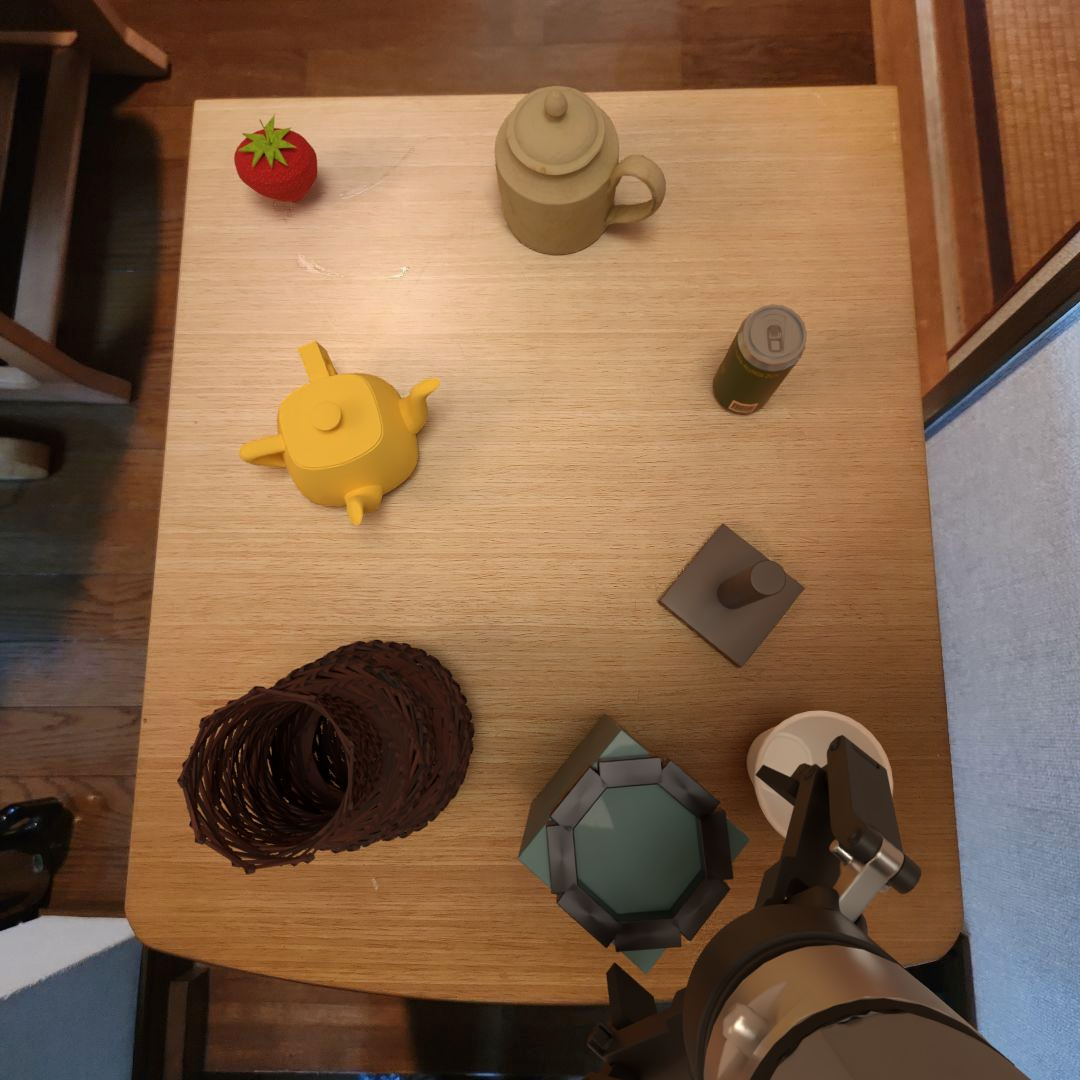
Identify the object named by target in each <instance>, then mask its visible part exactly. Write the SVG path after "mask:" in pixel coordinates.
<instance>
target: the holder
mask: <svg viewBox="0 0 1080 1080" xmlns="http://www.w3.org/2000/svg"><path fill="white" fill-rule="evenodd" d="M805 589H806V586H803V584H801V583H800V582H798V581H797V580H796V579H795V578H794V577H792V576H791V575H790V574H789V573H787V572H786V571H785V569H784V568H783V566H782V565H781V564H780V563H778V562H776V561H775V560H771V559H769V558H768V557H767V556H765V554H763V553H762V552H760V551H759V550H758V549H757V548H756V547H754V546H753V545H752V544H751V543H749V542H748V541H747V540H745V539H744V538H743V537H742V536H740V535H739V534H738V533H737V532H735V531H734V530H732V529H731V528H730V527H728V525H726V524H725V523H722V524H720V525H719V527H717V529H716V530H715V531H714V533H712V534H711V536H710V538H709V539H708V540H707V541H705V543H704V545H703V546H702V547H701V548H700V550H699V551H698V552H697V553H696V554H695V556H694V557H693V558H692V559H691V561H690V562H689V563H688V564H687V565H686V567H685V568H684V569H683V570H682V572H681V573H680V574H679V575H678V577H677V578H676V579H675V580H674V582H673V583H672V584H671V585H670V586H669V587H668V589H667V590H666V591H665V593H663V595H662V596H661V597H660V599H659V600H658V601H657V603H658V604H659V605H660V606H661V607H662V608H664V609H665V610H666V611H668V613H670V614H671V615H672V616H674V617H675V618H676V620H679V622H681V623H682V624H684V626H686V627H687V628H688V629H689V630H690V631H692V632H693V633H694V634H696V635H697V636H698V637H700V638H701V639H702V640H703V641H704V642H706V643H707V644H708V645H709V646H710V647H712V649H714V650H715V651H717V652H718V653H719V654H720V655H721V656H723V657H724V658H725V659H726V660H728V661H729V662H730V663H731V664H733V665H734V666H735V667H736V668H738V669H741V668H743V667H744V666H745V665H746V663H747V662H748V661H749V660H750V658H751V657H752V656H753V655H754V654H755V652H756V651H757V650H758V648H759V647H760V646H761V645H762V643H763V642H764V641H765V639H767V637H768V635H769V634H771V632H772V631H773V629H774V628H775V627H776V625H777V624H778V623H779V622H780V620H782V618H783V617H784V615H785V614H786V613H787V612H788V611H789V609H790V608H791V606H792V605H793V604H794V603H795V602H796V600H797V599H798V598H799V597H800V595H801V594H802V593H803V592H804V590H805Z"/></svg>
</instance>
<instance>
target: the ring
mask: <svg viewBox="0 0 1080 1080" xmlns="http://www.w3.org/2000/svg"><path fill="white" fill-rule="evenodd" d="M597 766H598V770H596V769H595V768H594V767H593V766H592V765H591V764H588V765H587V766H586V767H585V768H584V770H583V771H582V772H581V773H580V775H579V776H578V777H577V778H576V780H575V781H574V782H573V783H572V785H571V786H570V787H569V788H568V789H567V791H566V792H565V793H564V794H563V796H562V797H561V798H560V799H559V801H558V802H557V803H556V804H555V806H554V807H553V808H552V809H551V810H550V814H549V817H550V818H551V819H552V820H553V821H547V822H546V834H547V846H548V858H549V870H550V883H551V889H550V893H551V894H552V895H556V899H555V902H556V905H557V906H558V907H559V908H560V909H561V910H563V911H564V912H565V913H566V914H567V915H568V916H569V917H570V918H572V919H573V920H574V922H576V923H577V924H578V925H579V926H581V928H583V929H584V930H585V931H586V932H587V933H588V934H590V936H591V937H593V938H594V939H595V940H596V941H597V942H598V943H599V944H601V945H602V947H604V948H605V949H608V948H609V947H610V945H611V943H612V941H613V940H614V945H613V946H614V950H615V952H616V953H621V952H625V951H637V950H650V949H662V948H667V949H673V948H683V944H682V943H683V942H682V937H684V939H686V940H687V941H689V942H691V941H693V939H694V938H695V936H697V934H698V933H699V932H700V931H701V929H702V927H703V926H704V925H705V924H706V922H708V919H710V917H711V916H712V915H713V913H714V912H715V910H716V909H717V908H718V906H719V905H720V904H721V903H722V901H723V900H724V899H725V897H726V896H727V895H728V894H729V892H730V891H731V887H730V885H729V884H728V883H727V882H726V881H728V880H731V881H732V880H734V879H735V878H734V870H733V863H732V860H731V852H730V843H729V835H728V827H727V819H728V817H727V812H726V810H724V808H722V807H721V806H719V805H720V804H721V801H720V800H719V799H718V798H717V797H716V796H715V795H713V794H712V793H711V792H710V791H709V790H707V789H706V788H705V787H704V786H703V785H702V784H701V783H699V782H698V781H697V780H696V779H694V777H692V776H691V775H690V774H689V773H687V772H686V771H685V770H684V769H683V768H681V767H680V766H679V765H678V764H677V763H676V762H675V761H673V760H672V759H671V758H670V757H669V756H666V757H665V758H664V759H663V758H662V756H661V755H660V754H659V753H652V754H649V755H637V756H625V757H613V758H601V759H597ZM657 784H658V785H659V786H661V787H662V788H663V789H664V790H665V791H666V792H668V793H669V794H670V795H671V796H672V797H673V798H675V799H676V800H677V801H678V802H679V803H680V804H682V805H683V806H684V807H685V808H686V809H687V810H688V811H690V812H691V813H692V814H693V815H694V816H695V820H696V829H697V837H698V846H699V855H700V864H701V869H700V871H699V872H698V873H697V875H696V876H695V877H694V878H693V880H692V881H691V882H690V884H689V885H688V886H687V887H686V889H685V890H684V891H683V893H682V894H681V895H680V897H679V898H678V899H677V900H676V902H675V903H674V904H673V906H672V907H671V908H670V909H669V910H661V911H648V912H636V913H623V914H617V913H616V912H615V911H613V910H612V909H611V908H610V907H609V906H608V905H607V904H606V903H605V902H603V901H602V900H601V899H600V898H599V897H598V896H597V895H596V894H595V893H593V892H592V891H591V890H590V889H589V888H588V887H587V886H586V885H584V884H583V883H582V882H581V881H580V880H579V879H578V875H577V863H576V852H575V840H574V829H575V827H576V826H577V825H578V824H579V822H580V821H581V820H582V819H583V817H584V816H585V815H586V814H587V812H588V811H589V810H590V809H591V807H592V806H593V805H594V804H595V802H596V801H597V800H598V799H599V798H600V796H601V795H602V794H603V793H604V791H605V790H606V789H609V788H621V787H633V786H645V785H657ZM557 893H558V894H557Z"/></svg>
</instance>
